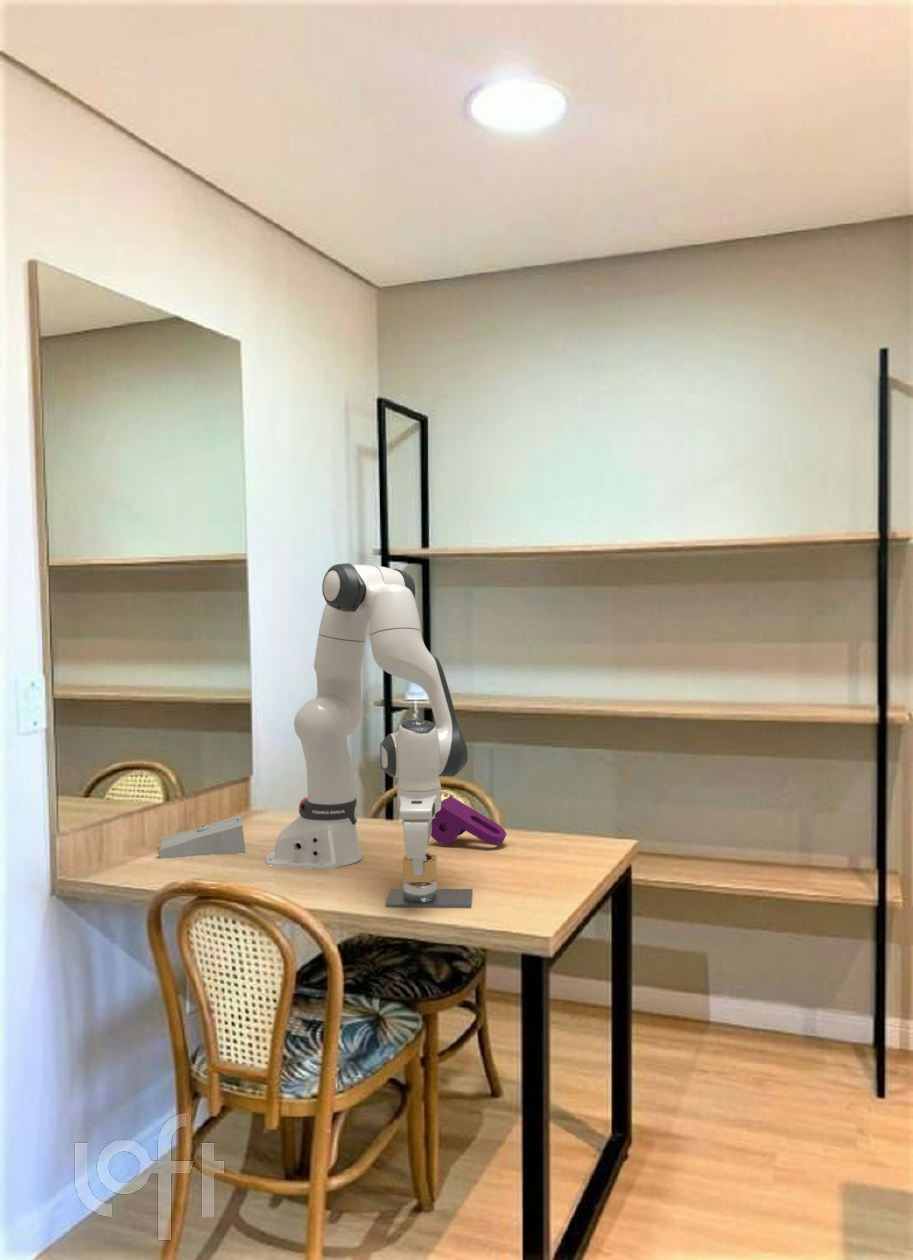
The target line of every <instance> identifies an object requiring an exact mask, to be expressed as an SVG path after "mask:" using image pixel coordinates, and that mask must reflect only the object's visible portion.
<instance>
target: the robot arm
mask: <svg viewBox="0 0 913 1260" xmlns="http://www.w3.org/2000/svg"><path fill="white" fill-rule="evenodd" d="M414 581H415V580H414V579H413V577H412V576H411V575H410V574H409V573H407V572H405V571H403V570H402V569H398V568H389V567H387V566H386V567H385V566H381V565H375V564H369V565H368V564H351V563H350V562H349V563H348V562H347V563H345V562H344V563H338V564H334V565H332V566H330V568H328V569H327V572H326V573H325V574H324V577H323V581H322V585H321V587H322V596H323V597H324V600H325V605H324V609H323V612H322V616H321V620H320V623H319V629H318V636H317V642H316V648H315V655H314V662H313V669H314V671H315V674H316V685H317V686H316V688H317V689H316V697H315V698H313V699H310V700H308V701H306V702H305V703H304V704H303V706H301V707H300V709H299V710H298V711H297V712H296V715H295V717H294V719H293V720H294V721H293V722H294V723H293V726H294V731H295V734H296V736H297V738H298V739H299V740H300V743H301V747H302V751H303V755H304V760H305V765H306V784H307V785H306V786H307V791H306V792H307V797H303V798H302V799H301V800H300V803H299V804H298V805H299V806H298V813H299V814H298V815H299V816H298V817H297V818H295V819H294V821H292V822H290V824H288V825H287V826H286V827H284V829H282V830H281V831H280V832H279V834H278V835H277V839H276V843H275V847H274V848H275V849H274V850H272V851H270V852H269V853H268V854H267V856H266V857H265V864H266V863H267V864H268V865H272V866H271V867H274V866H285V867H284V868H289V867H294V868H293V869H304V868H317V869H316V870H320V869H329V870H332V869H331V868H333V869H336V868H339V867H344V866H349V865H352V864H355V863H358V862H360V861H361V860H362V859H363V857H364V856H363V854H362V850H361V846H360V842H359V837H358V830H357V829H358V828H357V821H358V804H357V803H358V802H357V797H356V796H355V795H356V793H355V791H356V790H355V786H356V785H355V766H354V763H353V761H352V759H351V757H350V751H349V746H348V741H347V739H348V738H347V737H348V736H349V735H351V734H352V733H353V732H355V731H356V729H357V728H358V727H359V725H360V724H361V722H362V719H363V716H364V709H363V705H362V683H361V682H362V680H361V679H362V676H361V675H362V667H363V661H364V653H365V645H366V639H367V633H368V632H367V631H368V624H369V632H370V633H369V635H370V636H369V637H370V647H371V652H372V655H373V660H374V662H375V663H376V664H377V665H378V667H379V668H380V669H382V670H383V671H384V672H386V673H387V674H389V675H392V676H394V677H396V678H399V679H403V680H406V681H408V682H411V683H413V684H415V685H417V686H419V687H420V688H422V689H423V690H424V691H425V693H426V695H427V696H428V700H429V703H430V706H431V707H430V708H431V711H432V714H433V717H434V721H435V723H434V722H432V721H429V720H424V719H408V720H406V721H403V722H401V723H400V724H399V726H398V731H396V732H392V733H389V734H388V735H387V736H386V737H385V738H384V739H383V740H382V741H381V742H380V744H379V745H380V746H379V747H380V749H379V751H380V753H379V754H380V757H379V758H380V767H381V770H383V772H384V773H386V774H387V775H389V776H390V777H391V778H398V781H397V785H396V788H397V789H396V790H397V791H396V793H397V794H396V796H397V797H396V800H397V811H398V812H399V813H398V814H399V815H398V816H399V819H400V820H402V830H403V831H402V832H403V833H402V834H403V840H404V841H403V842H404V850H405V855H406V856H407V858H408V859H412V862H413V867H414V875H415V876H421V875H422V874H423V859H424V858H425V855H426V853H427V852H428V847H429V844H430V839H431V838H432V836H431V833H432V819H434V818H435V814H436V813H437V812H438V811H440V810H441V801H442V786H441V781H440V777H452V778H453V777H455V776H456V775H458V774H459V773H460V772H461V771H462V770H463V769H464V767H466V765H467V763H468V760H469V759H468V758H469V754H468V753H469V752H468V747H467V743H466V739H465V737H464V734H463V731H462V729H461V727H460V723H459V720H458V717H457V713H456V710H455V706H454V702H453V699H452V697H451V692H450V689H449V688H450V687H449V685H448V682H447V679H446V675H445V671H444V669H443V667H442V664H441V662H440V660H439V658H438V657H436V656H435V655H433V654H432V653H431V652H430V651H429V650H428V648H427V647H426V645H425V642H424V639H423V636H422V629H421V620H420V615H419V611H418V606H417V602H416V600H415V598H416V585H415V582H414ZM267 864H266V865H267ZM268 865H267V866H268ZM296 867H297V868H296Z"/></svg>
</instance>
